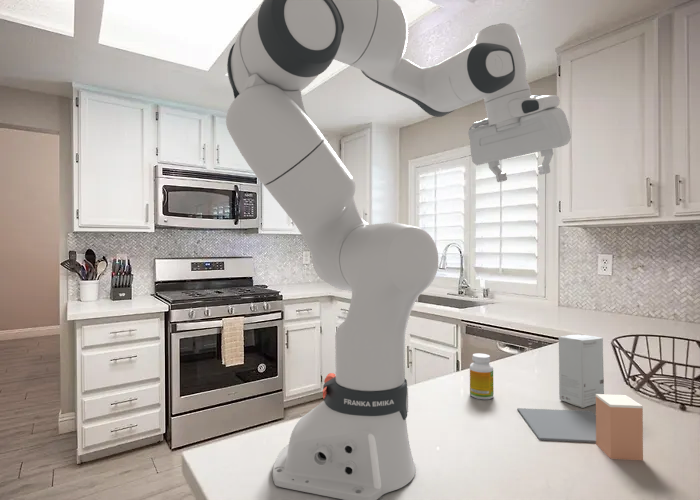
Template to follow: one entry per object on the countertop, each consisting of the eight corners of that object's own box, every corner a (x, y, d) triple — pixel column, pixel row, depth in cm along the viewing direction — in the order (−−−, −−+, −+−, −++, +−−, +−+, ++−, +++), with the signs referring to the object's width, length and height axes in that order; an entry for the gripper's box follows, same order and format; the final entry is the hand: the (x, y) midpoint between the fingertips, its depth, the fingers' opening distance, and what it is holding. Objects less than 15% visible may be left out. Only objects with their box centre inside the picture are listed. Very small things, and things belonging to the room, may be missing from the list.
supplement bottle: (495, 400, 93) (494, 358, 93) (470, 399, 94) (470, 357, 94) (491, 392, 99) (491, 352, 99) (468, 391, 100) (468, 352, 100)
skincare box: (582, 409, 88) (582, 340, 88) (557, 400, 94) (556, 335, 94) (605, 402, 92) (604, 336, 92) (579, 393, 97) (579, 332, 97)
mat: (539, 440, 74) (539, 437, 74) (517, 410, 88) (517, 408, 88) (627, 444, 72) (627, 442, 72) (590, 412, 86) (590, 411, 86)
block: (610, 458, 67) (610, 404, 67) (596, 444, 72) (595, 394, 72) (642, 460, 67) (642, 405, 67) (626, 445, 72) (625, 395, 72)
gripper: (458, 126, 89) (472, 188, 91) (552, 96, 73) (565, 172, 75) (475, 123, 92) (487, 182, 95) (567, 93, 76) (579, 165, 79)
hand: (522, 177), depth 85 cm, fingers open, 8 cm apart
